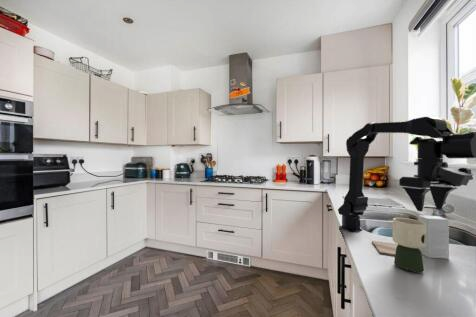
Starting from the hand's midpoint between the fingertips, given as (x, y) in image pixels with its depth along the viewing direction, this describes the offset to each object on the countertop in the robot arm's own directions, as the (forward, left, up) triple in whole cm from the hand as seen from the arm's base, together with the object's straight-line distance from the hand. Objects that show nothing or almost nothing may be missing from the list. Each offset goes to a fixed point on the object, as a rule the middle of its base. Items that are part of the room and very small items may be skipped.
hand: (429, 210), depth 63 cm
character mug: (+2, -13, -15) cm, 20 cm away
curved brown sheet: (-8, -5, -15) cm, 18 cm away
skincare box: (-1, +4, -15) cm, 15 cm away
